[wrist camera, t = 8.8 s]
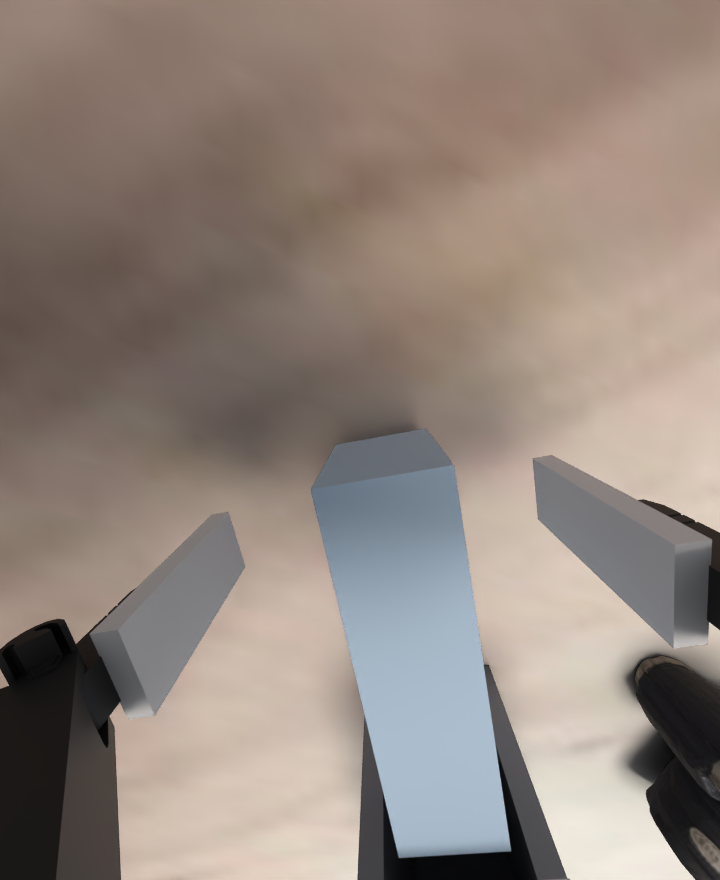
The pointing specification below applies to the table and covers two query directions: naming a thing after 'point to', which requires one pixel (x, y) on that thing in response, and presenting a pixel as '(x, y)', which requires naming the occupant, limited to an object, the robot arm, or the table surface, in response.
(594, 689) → the table surface
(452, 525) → the tall blue-grey block
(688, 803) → the camera
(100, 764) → the robot arm
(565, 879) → the dispenser
